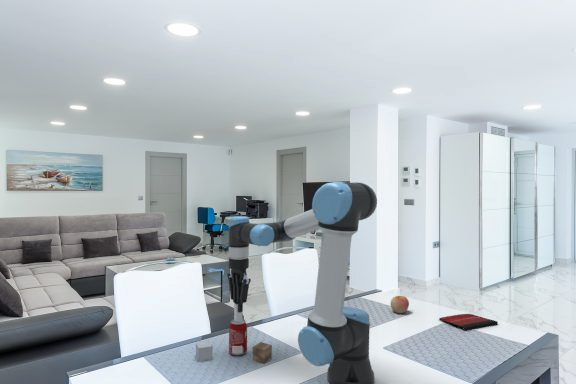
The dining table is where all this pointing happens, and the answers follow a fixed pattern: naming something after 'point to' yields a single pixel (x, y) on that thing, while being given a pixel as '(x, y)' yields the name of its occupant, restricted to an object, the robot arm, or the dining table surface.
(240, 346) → the soda can
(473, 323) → the binder
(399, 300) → the apple
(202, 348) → the grey cube
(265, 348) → the walnut cube
